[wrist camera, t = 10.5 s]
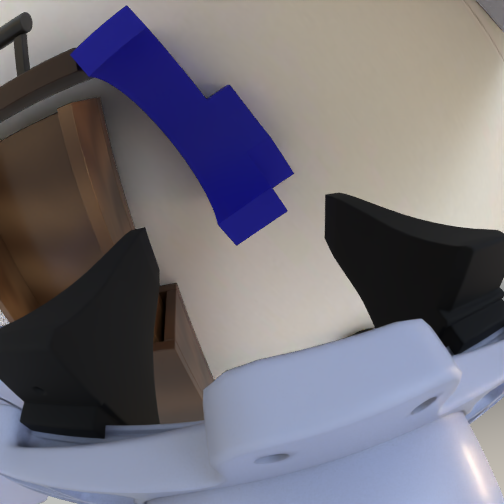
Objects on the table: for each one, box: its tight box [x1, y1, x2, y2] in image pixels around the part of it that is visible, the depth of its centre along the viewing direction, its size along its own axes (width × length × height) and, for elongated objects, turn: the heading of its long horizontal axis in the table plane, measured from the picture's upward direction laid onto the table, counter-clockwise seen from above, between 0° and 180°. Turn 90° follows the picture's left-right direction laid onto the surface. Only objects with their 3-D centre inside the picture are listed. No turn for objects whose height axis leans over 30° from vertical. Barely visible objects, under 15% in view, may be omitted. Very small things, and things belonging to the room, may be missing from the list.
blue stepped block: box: [70, 5, 294, 246], centre depth 13 cm, size 12×4×6 cm, turn 34°
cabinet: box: [153, 283, 214, 424], centre depth 24 cm, size 20×14×7 cm
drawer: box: [0, 12, 165, 343], centre depth 13 cm, size 23×13×5 cm, turn 7°
